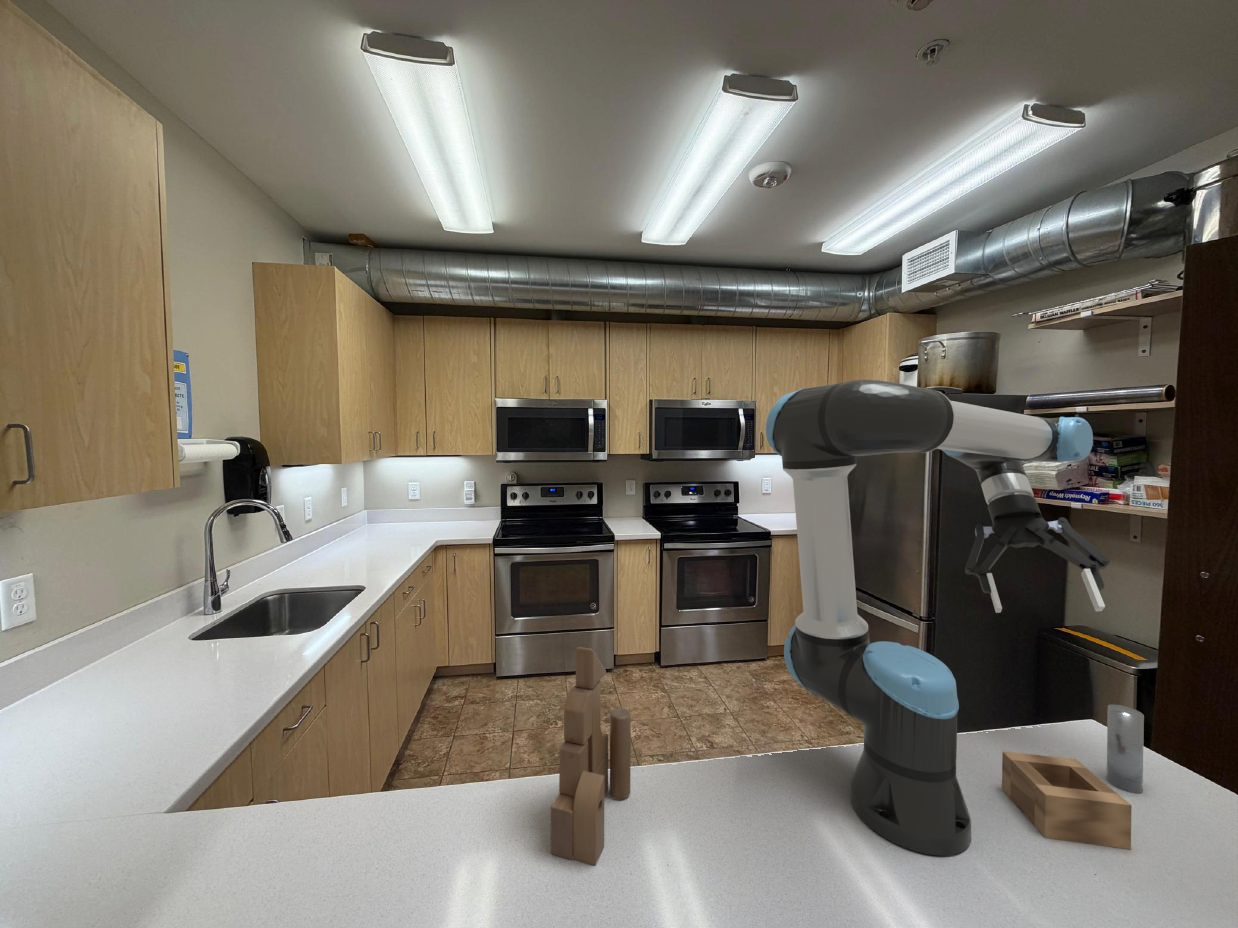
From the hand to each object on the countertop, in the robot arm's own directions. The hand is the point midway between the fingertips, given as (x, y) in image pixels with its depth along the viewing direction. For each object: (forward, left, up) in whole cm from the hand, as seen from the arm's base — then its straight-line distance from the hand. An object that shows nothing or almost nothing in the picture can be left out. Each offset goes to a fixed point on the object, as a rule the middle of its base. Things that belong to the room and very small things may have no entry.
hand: (1047, 609), depth 82 cm
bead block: (-7, -15, -26) cm, 31 cm away
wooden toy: (-74, -29, -27) cm, 83 cm away
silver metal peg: (+8, -5, -26) cm, 28 cm away
